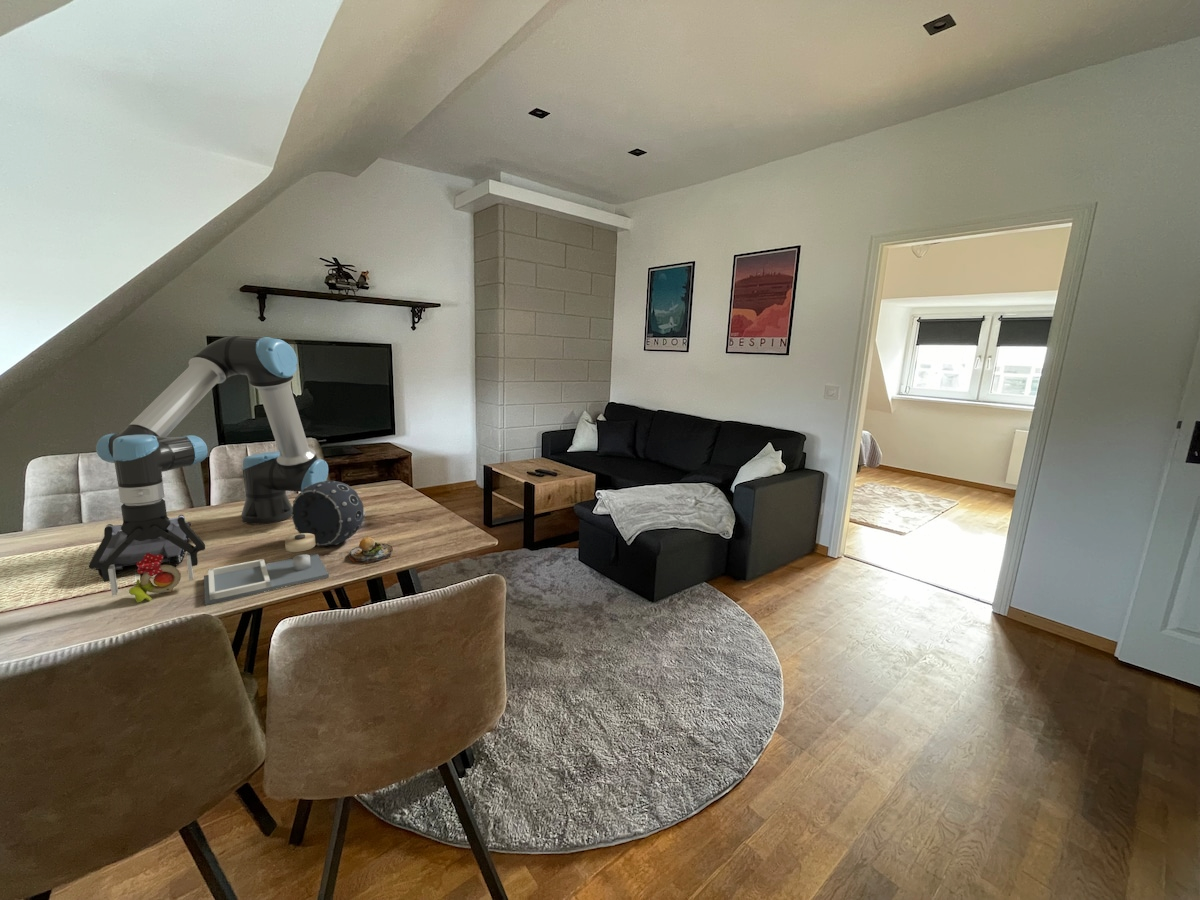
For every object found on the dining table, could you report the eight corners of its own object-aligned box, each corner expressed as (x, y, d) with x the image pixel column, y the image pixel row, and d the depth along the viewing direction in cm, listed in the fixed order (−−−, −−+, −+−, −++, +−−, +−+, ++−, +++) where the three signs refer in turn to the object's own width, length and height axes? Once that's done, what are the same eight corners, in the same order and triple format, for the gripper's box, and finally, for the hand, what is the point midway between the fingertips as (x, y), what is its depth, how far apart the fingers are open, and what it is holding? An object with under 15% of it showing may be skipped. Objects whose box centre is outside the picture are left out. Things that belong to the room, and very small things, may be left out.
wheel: (283, 545, 132) (282, 534, 131) (313, 539, 136) (312, 529, 135) (287, 553, 126) (286, 542, 126) (317, 548, 131) (316, 537, 130)
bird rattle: (168, 595, 121) (120, 593, 114) (186, 552, 122) (139, 548, 115) (172, 604, 117) (123, 603, 110) (191, 560, 118) (143, 556, 111)
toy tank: (92, 585, 120) (82, 529, 117) (114, 550, 140) (106, 501, 137) (185, 569, 131) (178, 517, 128) (193, 538, 150) (187, 492, 147)
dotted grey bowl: (346, 553, 145) (342, 490, 141) (289, 545, 148) (284, 483, 144) (369, 540, 155) (366, 481, 151) (316, 533, 159) (312, 474, 155)
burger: (398, 557, 145) (398, 534, 143) (356, 568, 137) (355, 543, 135) (384, 545, 153) (383, 522, 152) (343, 554, 145) (342, 530, 144)
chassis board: (204, 579, 125) (202, 565, 125) (317, 556, 142) (316, 543, 141) (205, 605, 113) (203, 589, 113) (328, 577, 130) (327, 563, 129)
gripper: (60, 514, 101) (76, 606, 105) (211, 497, 117) (220, 578, 121) (68, 505, 107) (82, 592, 111) (211, 490, 123) (219, 567, 127)
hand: (154, 585), depth 116 cm, fingers open, 13 cm apart
